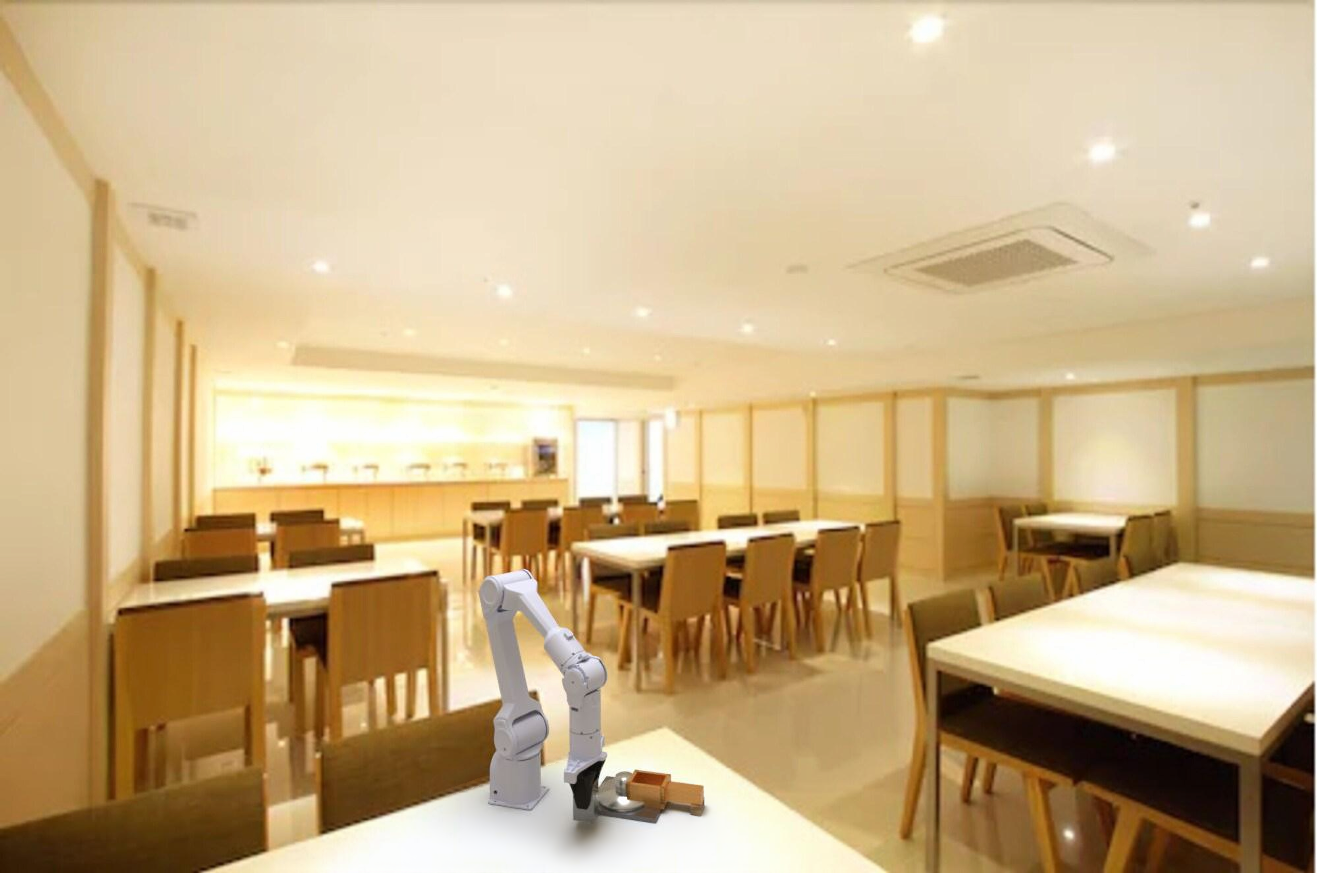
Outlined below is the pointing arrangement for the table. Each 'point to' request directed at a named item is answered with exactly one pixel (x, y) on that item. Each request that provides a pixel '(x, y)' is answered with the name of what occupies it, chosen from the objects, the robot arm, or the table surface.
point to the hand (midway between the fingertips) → (585, 803)
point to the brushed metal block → (593, 809)
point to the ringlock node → (646, 795)
